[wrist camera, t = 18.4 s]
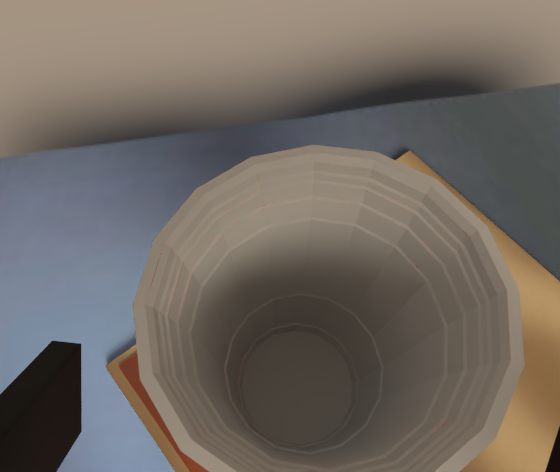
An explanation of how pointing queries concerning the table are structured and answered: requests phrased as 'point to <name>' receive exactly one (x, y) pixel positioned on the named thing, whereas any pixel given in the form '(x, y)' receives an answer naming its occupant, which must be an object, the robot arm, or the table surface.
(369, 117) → the table surface
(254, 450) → the plastic cup
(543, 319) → the corner board
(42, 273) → the table surface
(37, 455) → the robot arm
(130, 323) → the table surface
